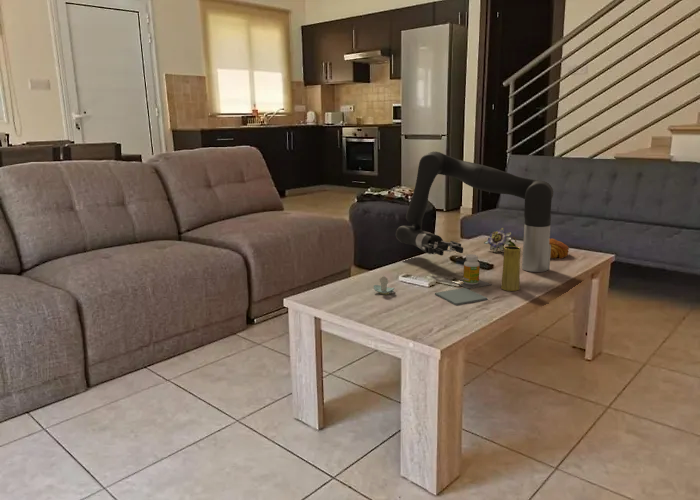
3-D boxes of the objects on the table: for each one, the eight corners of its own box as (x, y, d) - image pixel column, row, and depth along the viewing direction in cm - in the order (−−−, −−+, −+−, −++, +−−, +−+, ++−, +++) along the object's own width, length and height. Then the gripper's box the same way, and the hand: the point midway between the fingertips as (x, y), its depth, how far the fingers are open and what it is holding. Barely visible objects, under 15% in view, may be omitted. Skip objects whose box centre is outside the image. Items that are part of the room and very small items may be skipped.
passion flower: (495, 264, 235) (479, 241, 235) (503, 254, 244) (487, 232, 244) (516, 253, 228) (499, 229, 228) (523, 243, 236) (508, 220, 236)
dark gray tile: (474, 277, 197) (474, 277, 197) (491, 285, 188) (491, 284, 188) (450, 281, 193) (450, 280, 193) (467, 289, 185) (467, 288, 184)
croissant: (528, 262, 226) (528, 244, 223) (536, 249, 238) (536, 232, 235) (565, 265, 218) (566, 246, 216) (571, 251, 231) (572, 234, 228)
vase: (520, 291, 181) (522, 250, 177) (501, 290, 182) (503, 249, 179) (518, 286, 187) (520, 245, 183) (500, 285, 188) (502, 245, 184)
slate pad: (465, 289, 184) (465, 287, 184) (487, 299, 173) (487, 297, 173) (434, 294, 180) (434, 292, 179) (455, 305, 169) (455, 303, 169)
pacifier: (380, 289, 187) (371, 293, 182) (380, 271, 186) (371, 275, 181) (399, 292, 183) (390, 296, 178) (399, 274, 182) (391, 278, 177)
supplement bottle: (469, 285, 187) (470, 258, 185) (460, 281, 192) (460, 255, 190) (482, 283, 190) (483, 256, 187) (472, 279, 194) (473, 253, 192)
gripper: (413, 234, 210) (436, 243, 195) (444, 231, 215) (469, 239, 201) (413, 253, 211) (435, 263, 197) (444, 250, 217) (468, 259, 203)
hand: (452, 251), depth 199 cm, fingers open, 8 cm apart
